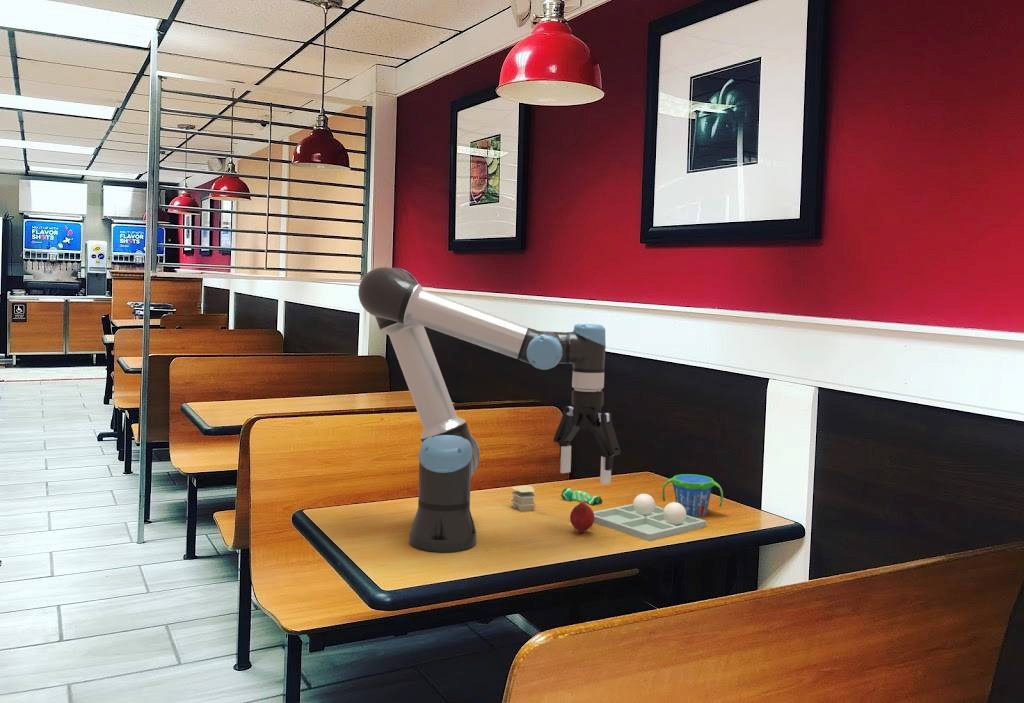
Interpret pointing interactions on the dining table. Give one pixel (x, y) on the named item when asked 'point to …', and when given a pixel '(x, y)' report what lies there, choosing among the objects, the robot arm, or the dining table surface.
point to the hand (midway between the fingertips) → (584, 478)
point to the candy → (580, 496)
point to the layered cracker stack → (523, 498)
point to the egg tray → (644, 522)
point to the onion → (582, 517)
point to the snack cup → (693, 493)
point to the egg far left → (644, 504)
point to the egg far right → (674, 513)
